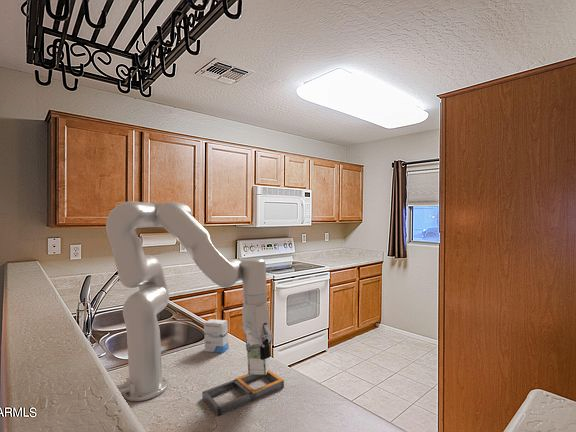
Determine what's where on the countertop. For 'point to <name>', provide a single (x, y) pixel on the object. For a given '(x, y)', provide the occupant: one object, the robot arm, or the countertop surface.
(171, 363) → the countertop surface
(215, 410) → the grey flat frame
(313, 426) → the countertop surface
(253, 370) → the syrup box
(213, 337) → the ink box
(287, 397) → the countertop surface
